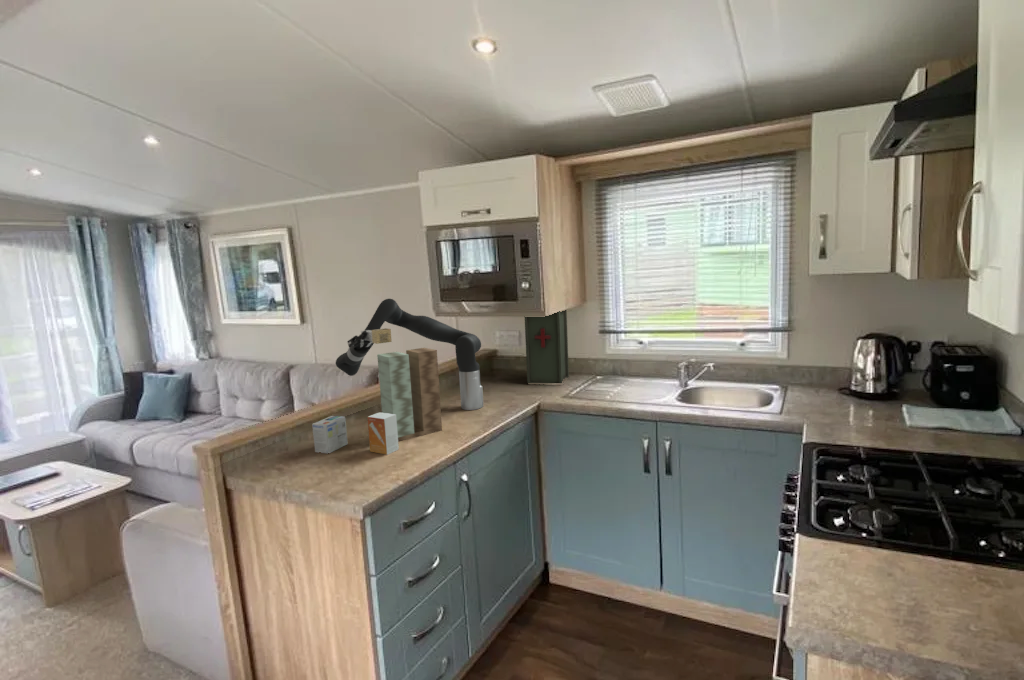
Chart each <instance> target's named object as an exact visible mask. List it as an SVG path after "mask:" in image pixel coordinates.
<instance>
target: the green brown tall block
mask: <svg viewBox="0 0 1024 680" xmlns="http://www.w3.org/2000/svg"><path fill="white" fill-rule="evenodd" d="M376 357H377V367H378V368H377V369H378V381H379V390H380V391H379V392H380V403H381V404H380V405H381V413H389V414H396V420H397V433H398V442H403V441H405V440H409V439H413V438H417V437H421V436H425V435H428V434H432V433H433V434H434V433H437V432H440V431H443V423H442V422H443V421H442V410H441V409H442V408H441V406H442V405H441V394H440V379H439V378H440V376H439V364H438V363H439V362H438V350H437V349H435V348H428V347H420V348H413V349H406V351H405V353H404V352H399V351H392V352H386V353H378V354H377V356H376Z"/></svg>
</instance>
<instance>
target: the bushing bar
mask: <svg viewBox="0 0 1024 680" xmlns="http://www.w3.org/2000/svg"><path fill="white" fill-rule="evenodd" d="M364 330H365V329H364ZM364 330H361V331H360V334H361V333H362V332H363V331H364ZM365 331H366V333H367V336H366V338H365V339H364V340H367V341H371V342H373V343H374V344H375V345H376V344H377V345H378V344H386V343H387V344H388V343H393V342H392V331H391V328H380V329H376V330H365Z"/></svg>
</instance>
